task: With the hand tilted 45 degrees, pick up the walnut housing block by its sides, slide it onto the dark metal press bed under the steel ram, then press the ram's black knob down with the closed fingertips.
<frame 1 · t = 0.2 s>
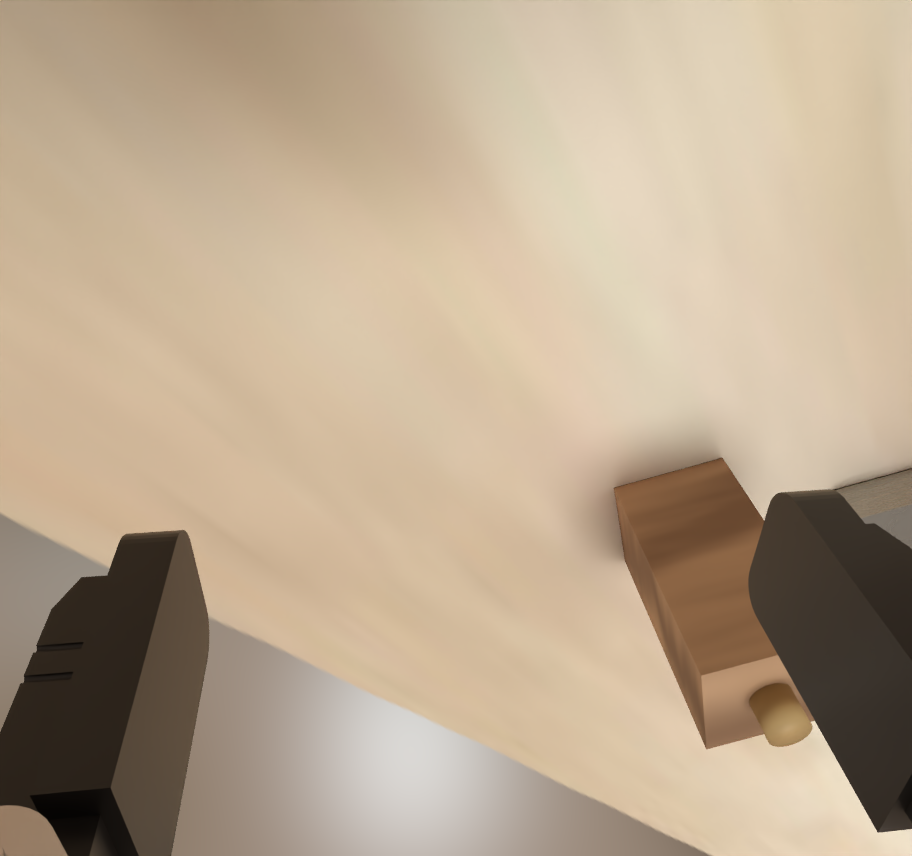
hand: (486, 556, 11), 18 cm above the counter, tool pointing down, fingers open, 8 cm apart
housing: (671, 511, 37), on the counter
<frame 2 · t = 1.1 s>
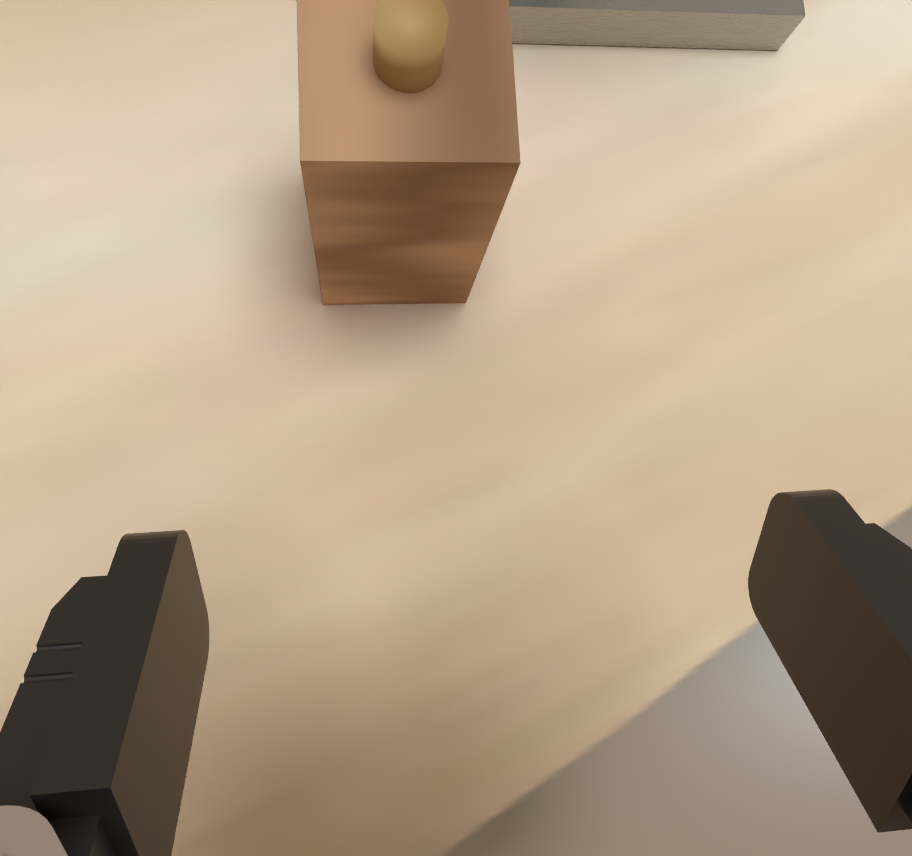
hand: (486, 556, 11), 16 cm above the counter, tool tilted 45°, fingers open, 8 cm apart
housing: (392, 236, 28), on the counter
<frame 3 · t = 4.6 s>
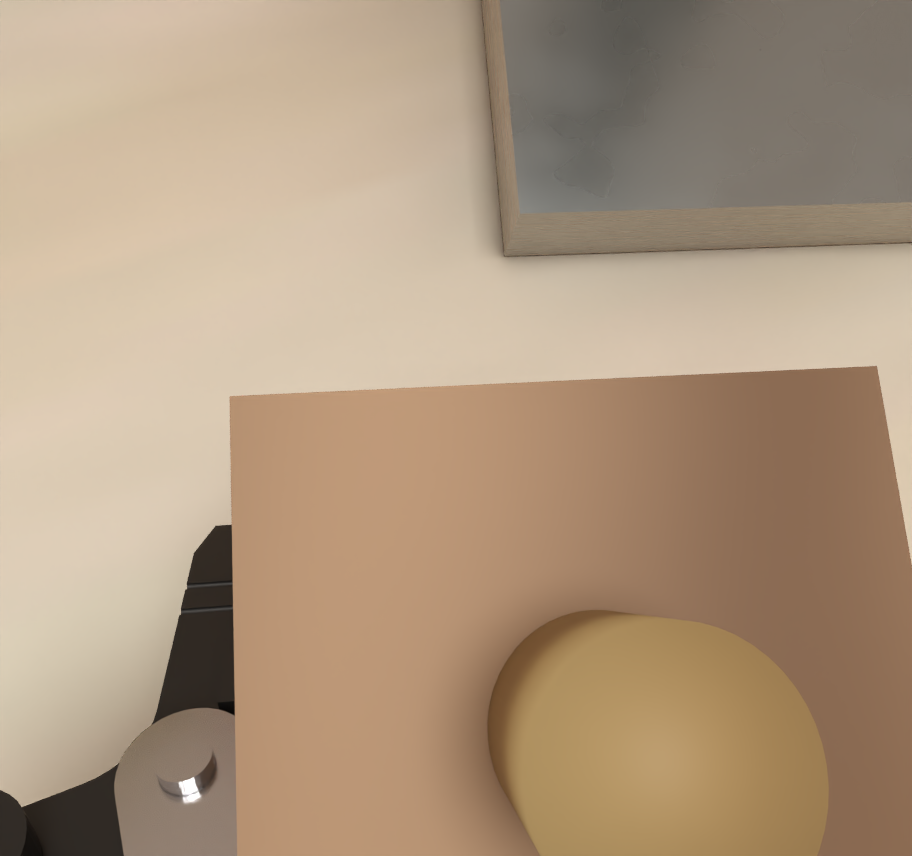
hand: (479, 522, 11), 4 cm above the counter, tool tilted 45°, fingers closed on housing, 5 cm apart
press: (774, 8, 19), on the counter
housing: (463, 633, 15), on the counter, touching gripper
when the fingers open (7 cm above the counter, at t = 12.4 s): housing stays where it is, resting on press.
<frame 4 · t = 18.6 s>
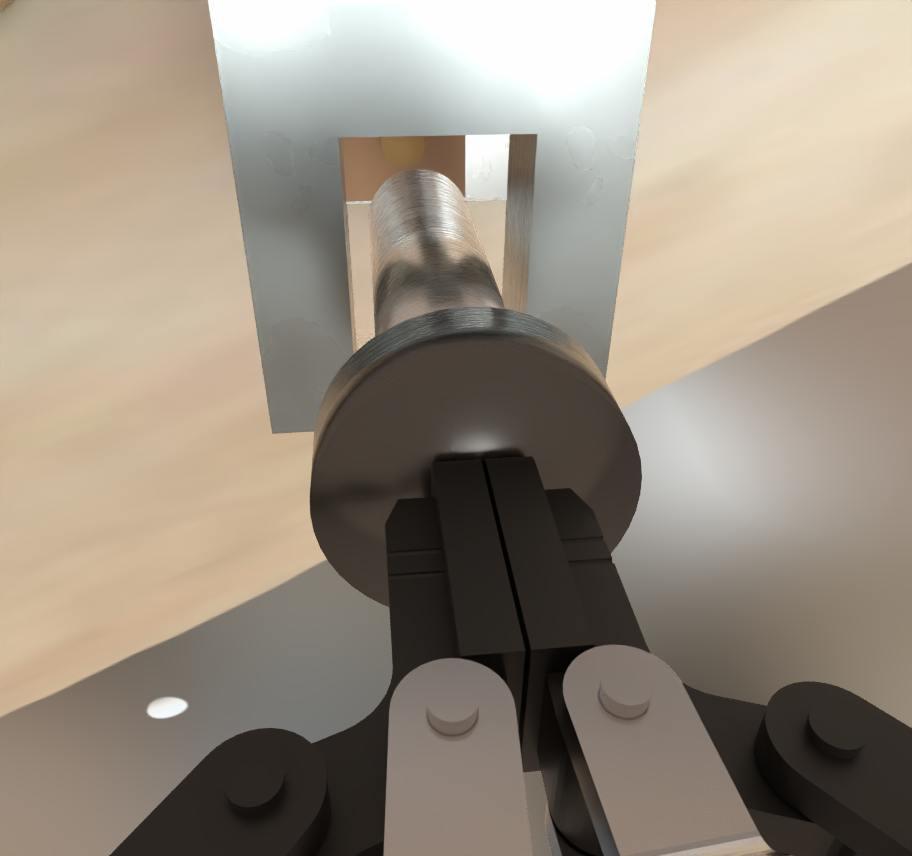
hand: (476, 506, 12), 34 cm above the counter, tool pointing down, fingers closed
press: (388, 73, 40), on the counter
ram: (439, 318, 17), point 28 cm above the counter, slide at 0.3 cm, touching gripper
housing: (390, 83, 38), point 2 cm above the counter, touching press
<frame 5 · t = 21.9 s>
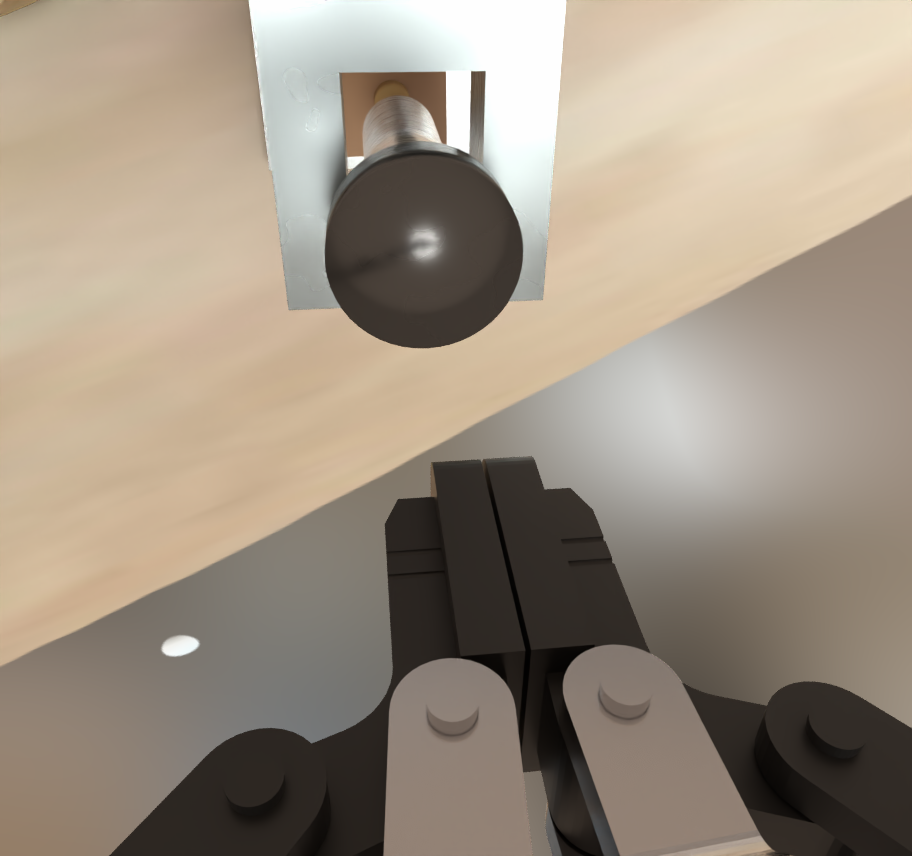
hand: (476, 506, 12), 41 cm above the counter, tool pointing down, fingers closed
press: (382, 52, 46), on the counter
ram: (409, 184, 25), point 25 cm above the counter, slide at 3.3 cm
housing: (383, 60, 44), point 2 cm above the counter, touching press
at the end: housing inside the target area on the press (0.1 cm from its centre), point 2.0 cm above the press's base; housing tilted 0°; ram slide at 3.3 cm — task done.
